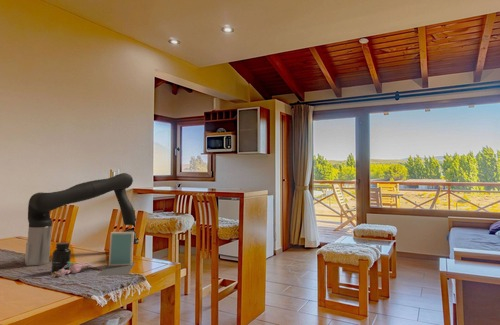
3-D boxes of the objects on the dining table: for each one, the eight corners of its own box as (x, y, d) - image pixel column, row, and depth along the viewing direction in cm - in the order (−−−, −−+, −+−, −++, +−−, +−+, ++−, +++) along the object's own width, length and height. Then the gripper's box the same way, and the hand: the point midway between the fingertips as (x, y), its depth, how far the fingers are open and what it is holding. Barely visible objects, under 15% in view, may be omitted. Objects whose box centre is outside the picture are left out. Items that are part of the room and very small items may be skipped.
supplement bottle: (50, 274, 130) (52, 245, 131) (51, 270, 136) (54, 242, 137) (69, 272, 133) (71, 244, 134) (70, 268, 139) (72, 241, 140)
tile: (109, 264, 146) (111, 232, 148) (132, 264, 148) (133, 231, 150) (108, 265, 144) (110, 232, 145) (131, 265, 146) (133, 232, 148)
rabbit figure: (55, 282, 124) (94, 269, 135) (54, 267, 124) (93, 256, 135) (50, 279, 128) (88, 267, 139) (48, 265, 128) (87, 254, 139)
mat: (108, 264, 149) (108, 262, 149) (135, 263, 152) (135, 262, 152) (96, 277, 128) (97, 275, 128) (128, 275, 131) (128, 274, 131)
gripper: (115, 231, 166) (108, 236, 149) (141, 231, 169) (137, 236, 152) (114, 245, 165) (107, 252, 149) (141, 245, 168) (136, 251, 152)
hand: (122, 244), depth 150 cm, fingers closed
